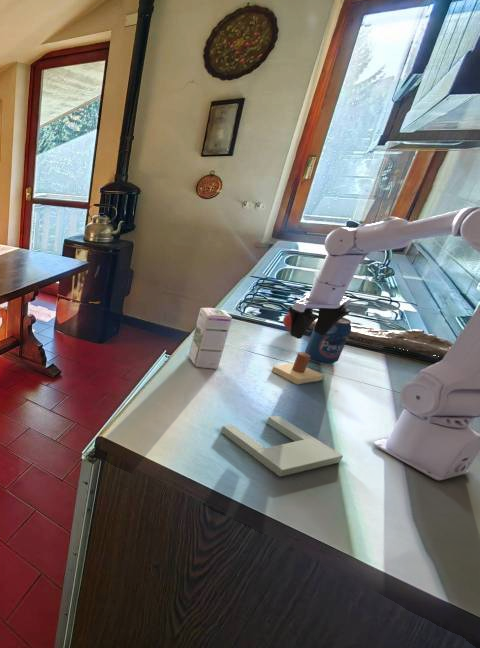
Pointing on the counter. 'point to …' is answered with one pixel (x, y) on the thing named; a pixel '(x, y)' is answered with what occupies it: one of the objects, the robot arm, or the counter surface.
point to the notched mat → (285, 449)
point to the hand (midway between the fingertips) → (307, 335)
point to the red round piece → (287, 321)
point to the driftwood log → (400, 340)
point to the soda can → (329, 343)
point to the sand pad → (297, 375)
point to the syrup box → (209, 337)
